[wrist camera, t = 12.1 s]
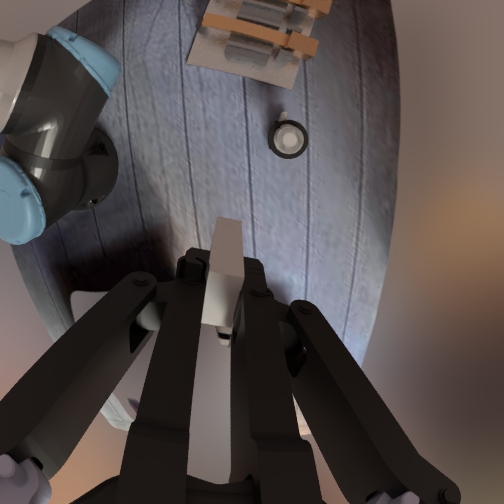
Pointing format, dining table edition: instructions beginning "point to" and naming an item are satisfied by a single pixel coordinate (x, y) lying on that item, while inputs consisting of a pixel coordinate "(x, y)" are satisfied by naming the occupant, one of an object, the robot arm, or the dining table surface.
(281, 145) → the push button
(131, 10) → the dining table surface
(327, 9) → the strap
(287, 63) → the heatsink base
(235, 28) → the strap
